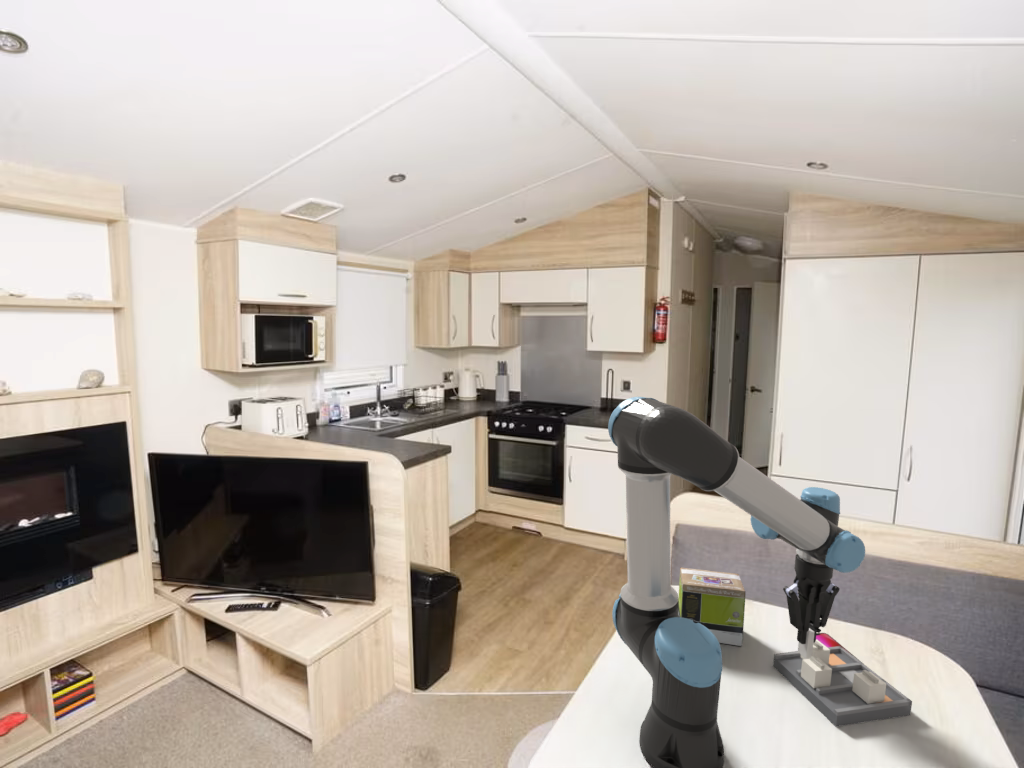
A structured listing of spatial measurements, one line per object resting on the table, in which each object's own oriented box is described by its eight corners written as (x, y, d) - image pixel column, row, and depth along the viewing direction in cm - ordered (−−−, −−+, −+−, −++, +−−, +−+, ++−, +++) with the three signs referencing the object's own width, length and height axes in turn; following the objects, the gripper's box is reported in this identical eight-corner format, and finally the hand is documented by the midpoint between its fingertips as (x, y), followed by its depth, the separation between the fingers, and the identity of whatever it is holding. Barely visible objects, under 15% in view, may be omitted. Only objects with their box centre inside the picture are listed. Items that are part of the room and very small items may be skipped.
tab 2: (813, 688, 117) (816, 667, 117) (800, 676, 121) (802, 656, 120) (830, 686, 118) (832, 665, 117) (816, 674, 122) (818, 654, 121)
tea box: (735, 625, 145) (740, 572, 143) (742, 648, 135) (747, 591, 133) (676, 617, 148) (680, 565, 146) (678, 638, 139) (682, 583, 137)
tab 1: (813, 668, 124) (815, 648, 123) (800, 657, 128) (802, 637, 127) (828, 666, 125) (830, 646, 124) (815, 655, 129) (817, 636, 128)
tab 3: (867, 703, 113) (870, 682, 112) (852, 690, 117) (854, 669, 116) (884, 701, 114) (886, 680, 113) (868, 688, 118) (870, 667, 117)
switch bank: (835, 726, 110) (837, 712, 110) (772, 666, 128) (774, 653, 128) (910, 715, 114) (912, 701, 113) (838, 658, 132) (840, 646, 132)
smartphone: (844, 673, 126) (800, 634, 141) (843, 677, 126) (799, 637, 141) (872, 670, 127) (826, 632, 142) (872, 674, 127) (825, 635, 142)
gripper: (801, 567, 117) (791, 668, 121) (853, 563, 120) (841, 662, 123) (777, 552, 125) (768, 648, 128) (827, 548, 127) (817, 642, 131)
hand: (804, 655), depth 126 cm, fingers closed
